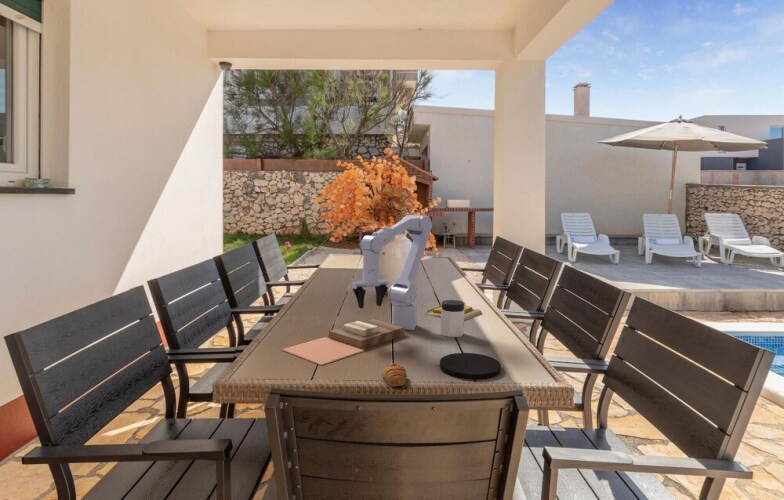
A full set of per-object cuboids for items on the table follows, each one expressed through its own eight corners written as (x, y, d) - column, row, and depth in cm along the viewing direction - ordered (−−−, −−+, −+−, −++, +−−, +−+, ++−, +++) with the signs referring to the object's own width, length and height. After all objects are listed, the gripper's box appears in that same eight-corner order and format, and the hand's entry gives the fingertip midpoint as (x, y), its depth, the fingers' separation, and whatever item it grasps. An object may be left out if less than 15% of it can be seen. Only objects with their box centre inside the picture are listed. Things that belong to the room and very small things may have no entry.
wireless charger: (469, 355, 153) (469, 349, 153) (513, 372, 139) (513, 365, 139) (427, 366, 142) (427, 360, 142) (470, 386, 128) (470, 379, 128)
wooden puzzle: (446, 307, 217) (446, 300, 216) (482, 314, 205) (483, 306, 204) (423, 315, 203) (424, 307, 203) (461, 323, 191) (462, 314, 191)
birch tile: (357, 326, 173) (357, 320, 172) (377, 331, 166) (377, 326, 166) (343, 330, 167) (343, 324, 167) (363, 336, 161) (363, 330, 161)
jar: (443, 329, 180) (444, 298, 178) (465, 331, 177) (466, 300, 176) (438, 336, 171) (439, 304, 170) (461, 338, 169) (462, 305, 167)
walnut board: (373, 326, 183) (373, 318, 183) (404, 335, 172) (404, 327, 172) (329, 339, 167) (329, 330, 166) (361, 349, 156) (361, 340, 156)
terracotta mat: (324, 338, 168) (324, 337, 168) (364, 351, 155) (364, 350, 154) (281, 350, 155) (281, 349, 154) (321, 365, 141) (321, 364, 141)
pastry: (410, 387, 127) (410, 374, 126) (385, 389, 125) (385, 375, 125) (404, 374, 136) (404, 361, 135) (380, 375, 135) (380, 363, 134)
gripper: (359, 272, 161) (358, 311, 163) (394, 269, 170) (392, 306, 171) (349, 269, 167) (348, 307, 168) (382, 267, 175) (381, 303, 177)
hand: (369, 306), depth 170 cm, fingers open, 7 cm apart
